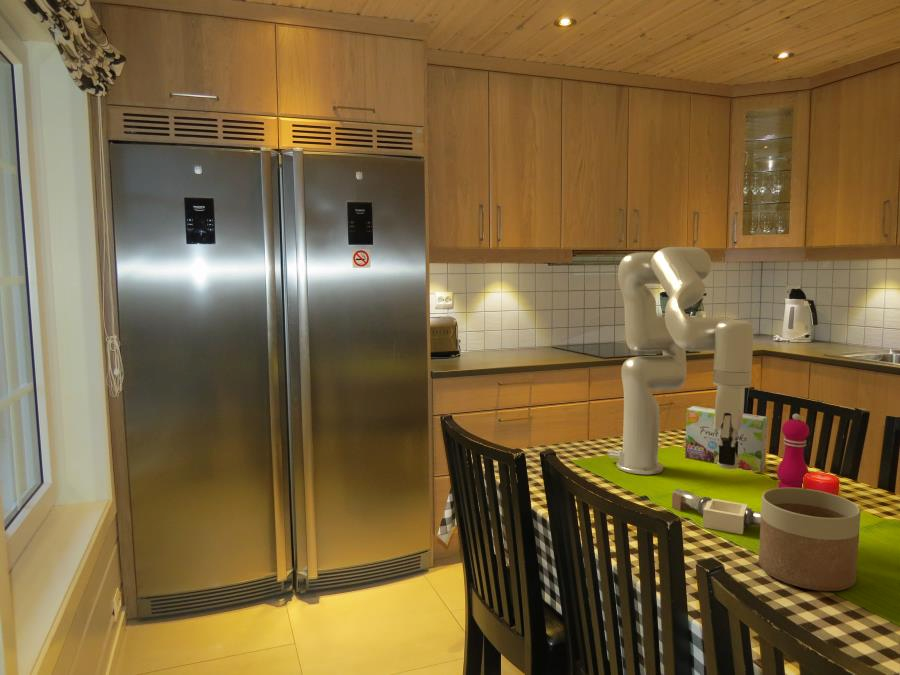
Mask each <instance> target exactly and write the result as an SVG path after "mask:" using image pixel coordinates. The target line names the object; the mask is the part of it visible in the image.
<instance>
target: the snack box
mask: <svg viewBox="0 0 900 675" xmlns="http://www.w3.org/2000/svg"><path fill="white" fill-rule="evenodd" d="M714 416H715V408H711V407H710V408H709V407H703V406H697V405H692V406H690V407H689V408H686V421H685V422H686V426H685V428H686V429H685V446H684V447H685V448H684V452H685V453H684V458H685V459H686V458H687V459H693V460H698V461H701V460H702V462H706V461H707V462H708V463H711V462H712V464H716V463H717V462H719V461H718V457H719V445H720V437H721V428H720V429H719V430H718V431H717V432H716V431H714V429H713V428H714ZM768 421H769V418H768V417H767V416H762V415H755V414H751V413H744V412H743V418H742V425H741V428H740V430H739V431H738V440H737V441H738V459H739V462H738V463H737V464H739V467H738V468H737V469H740V468H742V469H741V470H745V469H747V470H746V471H750V470H752V471H751V472H755V471H757V472H756V473H761V472H762V471H763V470H765V469H766V461H767V460H766V459H767V443H768V440H767V439H768V425H769V424H768V423H769V422H768Z"/></svg>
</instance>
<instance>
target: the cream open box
mask: <svg viewBox="0 0 900 675" xmlns="http://www.w3.org/2000/svg"><path fill="white" fill-rule="evenodd" d="M746 508H748V504H747V503H741V502H734V501H730V500H723V499H718V498H717V499H716V498H711V500H708V501H707V503H706V505H705V507H704V509H703V514H702V515H703V516H702V528H706V529H711V530H716V531H722V532H727V533H733V534H737V535H743V534H744V531H745V528H746V527H745V524H744V518H745V510H746Z"/></svg>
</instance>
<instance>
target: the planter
mask: <svg viewBox="0 0 900 675" xmlns="http://www.w3.org/2000/svg"><path fill="white" fill-rule="evenodd" d="M760 512H761V526H760V528H759V529H760V531H759V548H758V565H759V566H760V568H761V569H762V570H763V571H764V572H765V573H767V574H768V575H769V576H771V577H773V578H774V579H777V580H779V581H781V582H783V583H785V584H788V585H791V586H794V587H798V588H802V589H806V590H811V591H818V592H819V591H820V592H821V591H823V592H834V591H835V592H836V591H843V590H846V589H849V588H851V587H853V585H855V583H856V581H857V569H858V554H859V539H860V528H861V527H860V525H861V515H862V514H861V513H862V510H861V508H860V507H859V505H857V504H856V503H855V502H854V501H851V500H850V499H848V498H845V497H842V496H841V495H837V494H833V493H831V492H825V491H822V490H817V489H812V488H806V489H804V488H778V487H776V488H771V489H768V490H766V491H764V492H763V493H762V496H761V511H760Z"/></svg>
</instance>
